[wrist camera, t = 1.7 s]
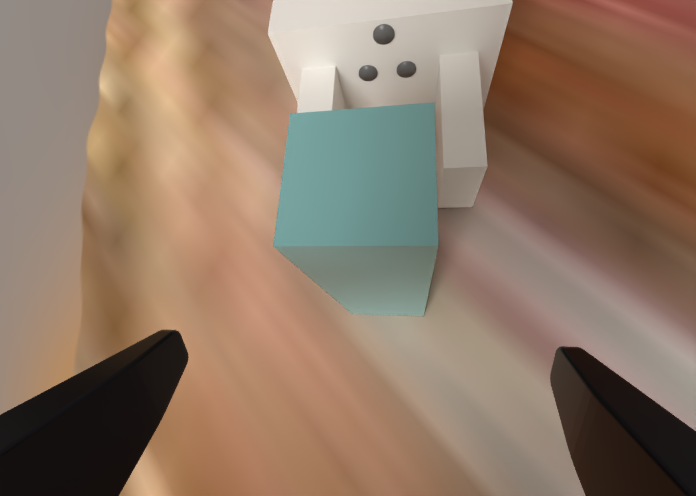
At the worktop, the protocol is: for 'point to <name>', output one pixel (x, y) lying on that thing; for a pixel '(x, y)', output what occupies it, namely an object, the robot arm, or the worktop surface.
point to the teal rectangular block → (362, 205)
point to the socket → (400, 68)
